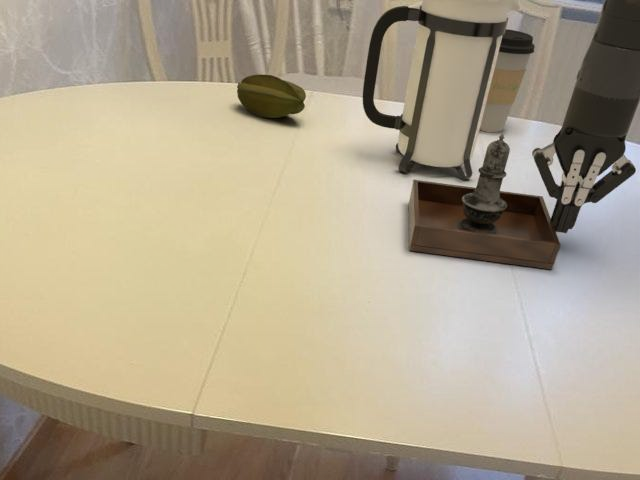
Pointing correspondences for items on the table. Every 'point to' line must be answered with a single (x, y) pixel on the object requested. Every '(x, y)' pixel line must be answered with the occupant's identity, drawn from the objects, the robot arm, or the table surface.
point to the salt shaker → (487, 191)
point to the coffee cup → (506, 78)
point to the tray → (505, 247)
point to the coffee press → (442, 79)
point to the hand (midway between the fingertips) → (559, 230)
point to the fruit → (270, 96)
